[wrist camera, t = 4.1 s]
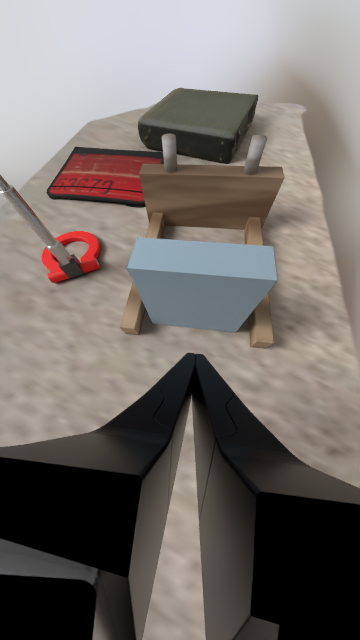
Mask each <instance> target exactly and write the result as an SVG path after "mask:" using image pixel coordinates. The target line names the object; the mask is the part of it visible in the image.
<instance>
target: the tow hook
mask: <svg viewBox="0 0 360 640" xmlns="http://www.w3.org/2000/svg"><path fill="white" fill-rule="evenodd" d="M0 193H1V194H2V195H3V197H4V198H5V199H6V200H7V201H8V202H9V203H10V205H11V206H12V207H13V208H14V209H15V210H16V211H17V212H18V214H19V215H20V216H21V217H22V218H23V219H24V220H25V221H26V223H27V224H28V225H29V226H30V227H31V228H32V229H33V230H34V231H35V233H36V234H37V235H38V236H39V237H40V238H41V239H42V240H43V242H44V243H45V244H46V247H45V249H44V251H43V253H42V262H43V264H44V266H45V267H46V268H47V269H49V270H50V273H48V278H49V279H50V281H51V282H52V283H56V282H59V281H62V280H65V279H68V278H74V277H77V276H80V275H83V274H85V273H87V272H90V271H93V270H96V269H99V268H100V264H99V262H98V260H97V259H96V258H97V257H98V255H99V253H100V247H101V246H100V243H99V241H98V239H97V238H96V237H95V236H94V235H93V234H91V233H88V232H84V231H75V232H69V233H66V234H63V235H61V236H59V237H57V238H54V237H53V236H52V234H51V233H50V232H49V231H48V229H47V228H46V227H45V226H44V224H43V223H42V222H41V221H40V219H39V218H38V217H37V216H36V214H35V213H34V212H33V211H32V209H31V208H30V207H29V206H28V205H27V203H26V202H25V201H24V200H23V198H22V197H21V196H20V195H19V193H18V192H17V191H16V190H15V189H14V187H13V186H11V185H8V184H7V182H6V181H5V180H4V179H3V178H2V176H1V175H0ZM73 241H84V242H86V243H88V244H89V248H88V251H87V252H86V253H85V255H84V256H82V257H81V263H80V262H79V260H78V259H77V258H76V256H75V255H74V254H73V255H70V254H69V253H68V252H67V250H66V249H65V248H64V247H63V246H64V245H66V244H67V243H70V242H73ZM55 257H56V258H57V260H58V262H57V261H55Z"/></svg>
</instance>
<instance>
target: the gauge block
mask: <svg viewBox="0 0 360 640" xmlns="http://www.w3.org/2000/svg"><path fill="white" fill-rule="evenodd" d="M127 269H128V271H129V273H130V276H131V278H132V280H133V282H134V284H135V286H136V289H137V291H138V293H139V295H140V297H141V299H142V301H143V304H144V306H145V308H146V310H147V312H148V314H149V316H150V319H151V321H152V323H153V324H161V325H171V326H180V327H189V328H198V329H207V330H216V331H226V332H235V333H236V331H237V330H238V329H239V328H240V326H241V325H242V324H243V323H244V321H245V320H246V319H247V318H248V316H249V315H250V314H251V313H252V311H253V310H254V309H255V308H256V306H257V305H258V304H259V303H260V301H261V300H262V299H263V298H264V296H265V295H266V294H267V293H268V291H269V290H270V289H271V288H272V286H273V285H274V284H275V283H276V281H277V275H276V267H275V259H274V251H273V246H260V245H245V244H230V243H215V242H200V241H185V240H170V239H155V238H140V237H137V239H136V242H135V245H134V248H133V251H132V254H131V257H130V260H129V263H128V267H127Z"/></svg>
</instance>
